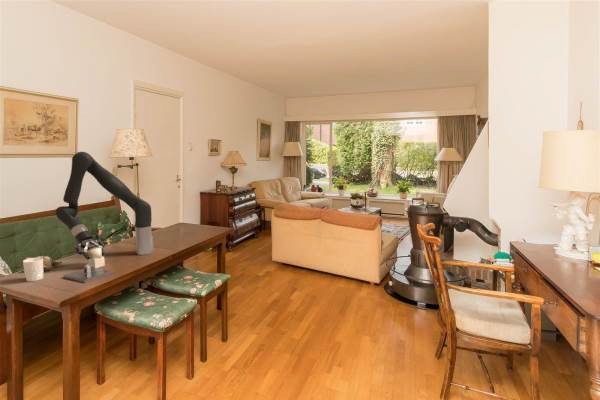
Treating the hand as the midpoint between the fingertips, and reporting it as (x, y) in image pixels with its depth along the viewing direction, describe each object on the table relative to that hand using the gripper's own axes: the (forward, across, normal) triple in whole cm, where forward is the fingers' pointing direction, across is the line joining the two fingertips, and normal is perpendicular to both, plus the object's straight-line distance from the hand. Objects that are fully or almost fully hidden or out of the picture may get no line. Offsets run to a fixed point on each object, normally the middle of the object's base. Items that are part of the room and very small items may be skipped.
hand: (96, 256), depth 186 cm
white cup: (-3, -26, +11) cm, 28 cm away
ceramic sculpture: (-11, -16, +20) cm, 27 cm away
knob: (+4, 0, +4) cm, 6 cm away
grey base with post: (+11, -12, -2) cm, 16 cm away
